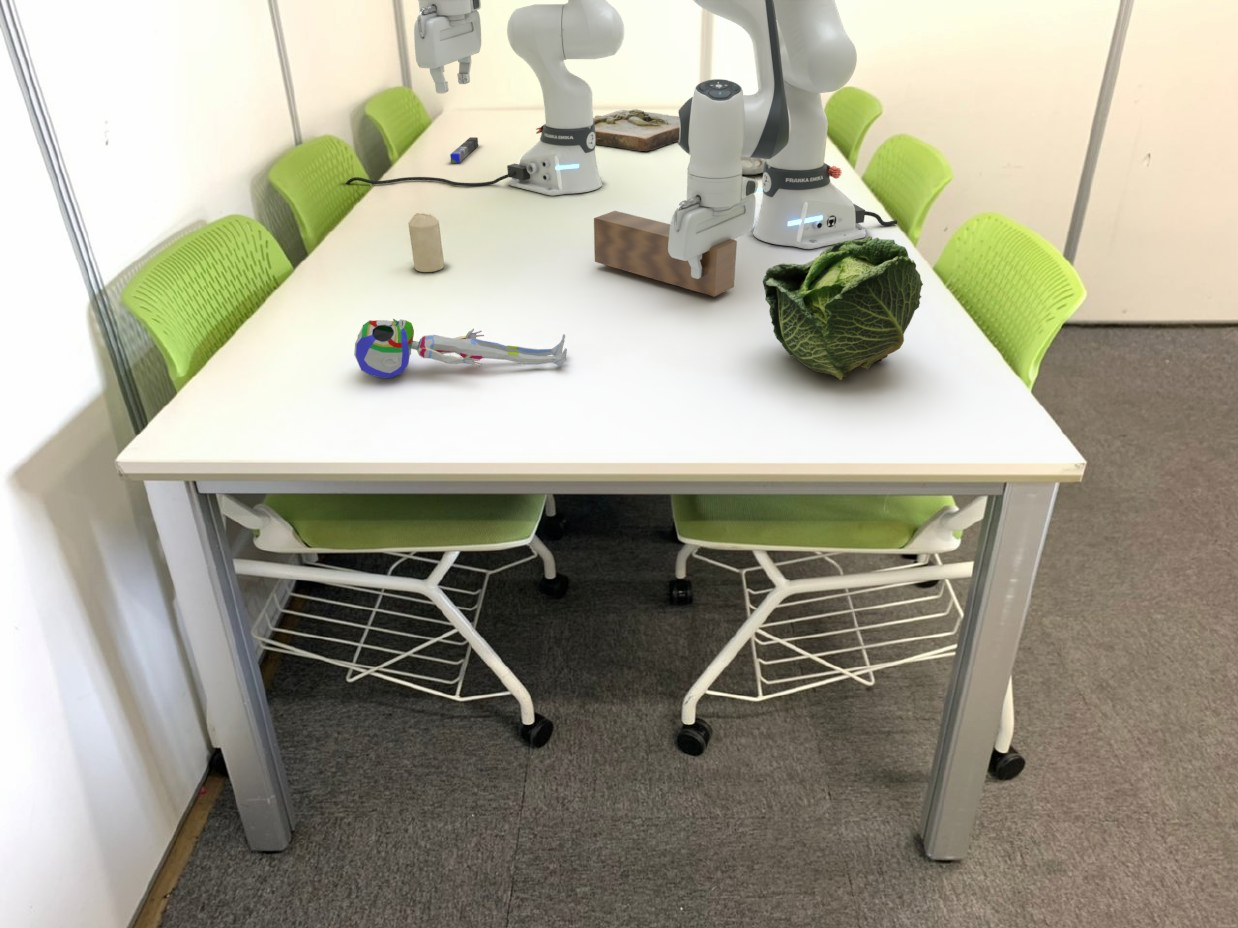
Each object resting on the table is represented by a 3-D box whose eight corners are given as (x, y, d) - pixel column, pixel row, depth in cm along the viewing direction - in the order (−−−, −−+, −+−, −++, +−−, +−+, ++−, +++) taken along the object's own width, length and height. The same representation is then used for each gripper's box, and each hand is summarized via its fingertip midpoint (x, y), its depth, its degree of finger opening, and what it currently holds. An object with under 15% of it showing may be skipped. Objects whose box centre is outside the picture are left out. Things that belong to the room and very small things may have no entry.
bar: (594, 262, 166) (593, 218, 162) (615, 253, 170) (614, 210, 165) (714, 297, 151) (716, 249, 147) (734, 287, 155) (737, 240, 151)
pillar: (477, 137, 250) (458, 155, 233) (478, 145, 251) (458, 163, 234) (469, 137, 250) (449, 154, 233) (470, 145, 251) (450, 163, 235)
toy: (569, 347, 126) (349, 329, 122) (563, 400, 131) (350, 385, 126) (565, 318, 135) (359, 301, 130) (559, 369, 139) (360, 354, 134)
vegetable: (793, 390, 139) (734, 280, 131) (892, 320, 140) (840, 208, 132) (858, 421, 121) (795, 296, 113) (972, 341, 122) (917, 212, 114)
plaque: (647, 125, 237) (559, 112, 252) (647, 153, 241) (560, 139, 256) (706, 107, 258) (622, 97, 273) (705, 133, 262) (622, 121, 277)
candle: (449, 263, 170) (443, 211, 164) (435, 273, 165) (428, 220, 160) (423, 261, 171) (416, 208, 166) (409, 270, 167) (401, 217, 161)
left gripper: (435, 9, 145) (445, 99, 153) (484, -3, 162) (491, 79, 169) (399, 8, 147) (411, 98, 154) (452, -4, 163) (460, 78, 171)
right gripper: (691, 207, 137) (689, 293, 145) (763, 179, 151) (757, 259, 158) (659, 200, 141) (658, 284, 148) (732, 173, 154) (728, 252, 161)
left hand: (453, 88), depth 162 cm, fingers open, 8 cm apart
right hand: (710, 271), depth 153 cm, fingers closed on bar, 6 cm apart
